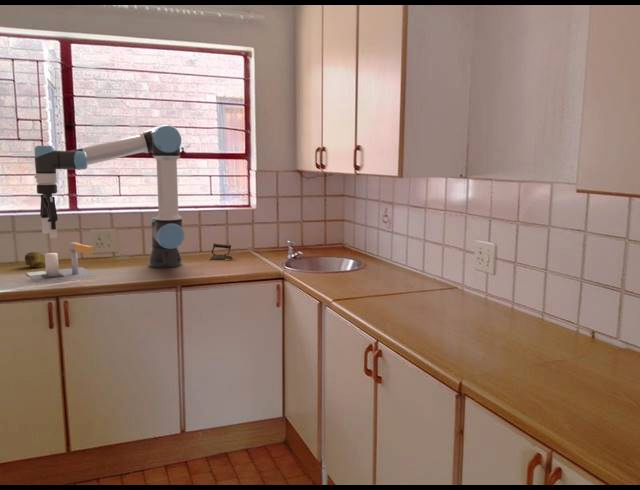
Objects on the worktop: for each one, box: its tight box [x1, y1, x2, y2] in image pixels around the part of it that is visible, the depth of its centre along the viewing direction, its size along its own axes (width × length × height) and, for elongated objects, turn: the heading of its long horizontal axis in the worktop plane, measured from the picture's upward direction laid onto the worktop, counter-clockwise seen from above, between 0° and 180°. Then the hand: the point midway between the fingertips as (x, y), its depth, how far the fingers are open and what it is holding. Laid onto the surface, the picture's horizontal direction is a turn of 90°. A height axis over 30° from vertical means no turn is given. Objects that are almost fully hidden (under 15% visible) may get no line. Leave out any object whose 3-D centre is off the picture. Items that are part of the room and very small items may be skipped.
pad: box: [26, 270, 46, 278], centre depth 238 cm, size 7×7×1 cm
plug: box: [44, 252, 60, 276], centre depth 234 cm, size 5×5×9 cm
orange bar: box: [68, 241, 94, 255], centre depth 234 cm, size 16×4×3 cm, turn 51°
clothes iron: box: [209, 243, 234, 261], centre depth 281 cm, size 7×11×10 cm, turn 86°
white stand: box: [25, 251, 96, 285], centre depth 237 cm, size 23×21×11 cm
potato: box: [24, 251, 46, 269], centre depth 253 cm, size 8×13×8 cm, turn 129°
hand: (49, 235), depth 232 cm, fingers open, 13 cm apart
